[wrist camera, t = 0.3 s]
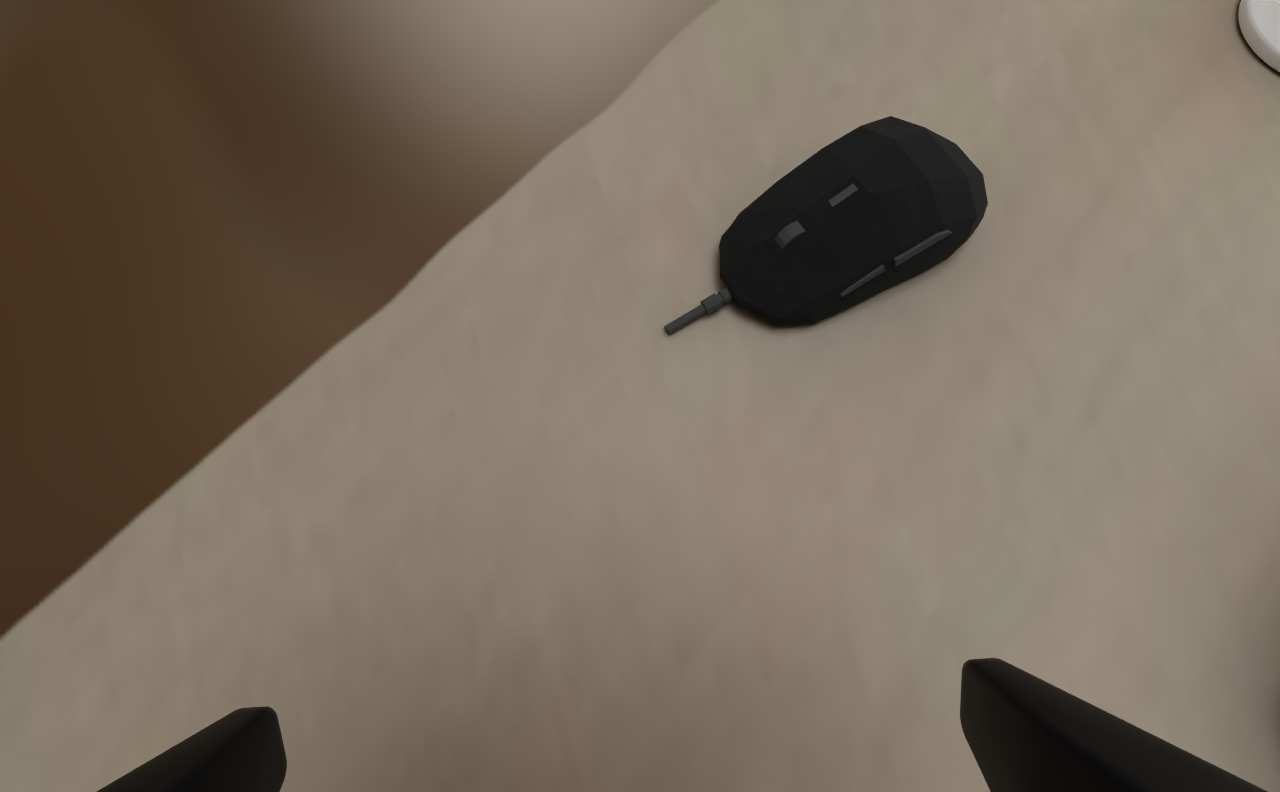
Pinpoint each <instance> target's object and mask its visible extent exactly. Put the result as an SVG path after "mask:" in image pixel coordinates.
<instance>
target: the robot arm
mask: <svg viewBox="0 0 1280 792" xmlns="http://www.w3.org/2000/svg"><path fill="white" fill-rule="evenodd" d="M960 719H961V725H962V729H963V732H964V735H965V737H966V740H967V742H968V744H969V746H970V748H971V750H972V753H973V755H974V757H975V759H976V761H977V763H978V765H979V768H980V770H981V772H982V774H983V776H984V778H985V780H986V783H987V785H988V787H989V789H990V791H991V792H1267V791H1265V790H1263V789H1261V788H1259V787H1257V786H1255V785H1253V784H1251V783H1249V782H1247V781H1245V780H1243V779H1241V778H1239V777H1237V776H1235V775H1233V774H1231V773H1229V772H1227V771H1225V770H1223V769H1221V768H1219V767H1217V766H1215V765H1213V764H1211V763H1209V762H1207V761H1204V760H1202V759H1200V758H1198V757H1196V756H1194V755H1192V754H1190V753H1188V752H1186V751H1184V750H1182V749H1180V748H1178V747H1176V746H1174V745H1172V744H1170V743H1168V742H1166V741H1164V740H1162V739H1160V738H1158V737H1156V736H1154V735H1152V734H1150V733H1148V732H1146V731H1144V730H1142V729H1140V728H1138V727H1136V726H1134V725H1132V724H1130V723H1128V722H1126V721H1124V720H1122V719H1120V718H1118V717H1116V716H1114V715H1112V714H1110V713H1108V712H1106V711H1104V710H1102V709H1100V708H1098V707H1096V706H1094V705H1092V704H1090V703H1087V702H1085V701H1083V700H1081V699H1079V698H1077V697H1075V696H1073V695H1071V694H1069V693H1067V692H1065V691H1063V690H1061V689H1059V688H1057V687H1055V686H1053V685H1051V684H1049V683H1047V682H1045V681H1043V680H1041V679H1039V678H1037V677H1035V676H1033V675H1031V674H1029V673H1027V672H1025V671H1023V670H1021V669H1019V668H1017V667H1015V666H1013V665H1011V664H1009V663H1007V662H1005V661H1003V660H1001V659H997V658H986V659H972V660H968V661H967V662H965V663H964V665H963V668H962V680H961V704H960ZM286 768H287V760H286V754H285V749H284V745H283V740H282V735H281V731H280V726H279V722H278V717H277V714H276V712H275V711H274V710H273V709H272V708H270V707H252V708H241V709H238V710H235V711H234V712H232V713H230V714H228V715H227V716H225V717H223V718H222V719H220V720H218V721H216V722H215V723H213V724H211V725H210V726H208V727H206V728H205V729H203V730H201V731H199V732H198V733H196V734H194V735H193V736H191V737H189V738H187V739H186V740H184V741H182V742H181V743H179V744H177V745H175V746H174V747H172V748H170V749H169V750H167V751H165V752H164V753H162V754H160V755H158V756H157V757H155V758H153V759H152V760H150V761H148V762H146V763H145V764H143V765H141V766H140V767H138V768H136V769H134V770H133V771H131V772H129V773H128V774H126V775H124V776H123V777H121V778H119V779H117V780H116V781H114V782H112V783H111V784H109V785H107V786H105V787H104V788H102V789H100V790H99V791H97V792H279V791H280V789H281V787H282V784H283V781H284V778H285V774H286Z"/></svg>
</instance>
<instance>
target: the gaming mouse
mask: <svg viewBox="0 0 1280 792" xmlns="http://www.w3.org/2000/svg"><path fill="white" fill-rule="evenodd" d="M987 204H988V202H987V196H986V190H985V184H984V178H983V174H982V173H981V172H980V170H979V169H978V168H977V167H976V166H975V165H974V164H973V163H972V161H971V160H970V159H969V158H968V157H967V156H966V155H965V153H964V152H963V151H962V150H961V149H960V148H959V147H958V146H957V144H955V143H953V142H951V141H949V140H947V139H946V138H944V137H942V136H940V135H938V134H936V133H934V132H932V131H930V130H928V129H927V128H925V127H922V126H919V125H916V124H913V123H910V122H907V121H904V120H901V119H898V118H895V117H892V116H890V117H887V118H884V119H880V120H877V121H874V122H871V123H868V124H865V125H862V126H860V127H858V128H856V129H855V130H853V131H851V132H850V133H848V134H846V135H845V136H843V137H841V138H839V139H838V140H836V141H834V142H833V143H831V144H829V145H828V146H826V147H824V148H822V149H821V150H820V151H818V152H817V153H816V154H814V155H813V156H812V157H810V158H809V159H807V160H806V161H805V162H803V163H802V164H801V165H799V166H798V167H796V168H795V169H794V170H792V171H791V172H790V173H788V174H787V175H785V176H784V177H783V178H781V179H780V180H779V181H777V182H776V183H775V184H774V185H773V186H771V187H770V188H769V189H768V190H767V191H765V192H764V193H763V194H762V195H761V196H760V197H758V198H757V199H756V200H755V201H754V202H752V203H751V204H750V205H749V206H748V207H746V208H745V209H744V210H743V211H742V212H741V213H739V215H738V216H737V217H736V219H735V220H734V222H733V223H732V225H731V226H730V227H729V229H728V230H727V231H726V232H725V233H724V234H723V235H722V237H721V241H720V245H719V249H720V278H721V279H722V281H723V282H724V284H725V285H726V287H727V288H728V289H726V288H724V289H722V290H721V291H719V292H718V294H717V295H716V294H713V295H711V296H709V297H707V298H706V299H704V300H702V301H701V305H700V306H698V307H696V308H695V309H693V310H691V311H689V312H688V313H686V314H684V315H683V316H681V317H679V318H678V319H676V320H674V321H673V322H671V323H669V324H667V325H666V326H664V327H665V329H666V331H667V332H668V334H670V333H672V332H674V331H675V330H677V329H679V328H680V327H682V326H684V325H686V324H687V323H689V322H691V321H692V320H694V319H696V318H697V317H699V316H701V315H702V314H704V313H707V314H710V313H712V312H713V311H715V310H717V309H718V308H720V307H722V305H721V304H722V303H724V304H726V303H727V302H729V301H731V300H732V297H734V298H735V300H736V301H737V302H738V304H740V305H741V306H743V307H744V308H746V309H748V310H749V311H751V312H753V313H754V314H756V315H757V316H759V317H761V318H762V319H764V320H766V321H767V322H769V323H771V324H772V325H774V326H781V325H800V324H814V323H816V322H818V321H820V320H823V319H825V318H827V317H829V316H832V315H834V314H836V313H838V312H841V311H843V310H845V309H847V308H850V307H852V306H854V305H856V304H858V303H860V302H862V301H864V300H865V299H867V298H869V297H871V296H873V295H875V294H877V293H879V292H881V291H883V290H885V289H887V288H889V287H891V286H893V285H896V284H898V283H900V282H902V281H904V280H906V279H909V278H911V277H913V276H915V275H917V274H920V273H921V272H923V271H925V270H927V269H929V268H931V267H932V266H934V265H936V264H938V263H940V262H942V261H944V260H945V259H947V258H948V257H949V256H950V255H952V254H953V253H954V252H955V251H956V250H957V249H958V248H959V247H960V246H961V245H962V244H963V243H964V242H965V241H966V240H967V239H968V238H969V237H970V236H971V235H972V234H973V232H974V231H975V229H976V228H977V226H978V225H979V223H980V221H981V220H982V218H983V216H984V213H985V210H986V207H987Z"/></svg>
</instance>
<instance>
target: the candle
mask: <svg viewBox="0 0 1280 792" xmlns="http://www.w3.org/2000/svg"><path fill="white" fill-rule="evenodd" d="M1238 18H1239V25H1240V29H1241V31H1242V34H1243V36H1244V38H1245V40H1246V41H1247V43H1248V44H1249V46H1250V47H1251V48H1252V50H1253V51H1254V52H1255V53H1256V54H1257V55H1258V56H1259V57H1260V58H1261V59H1262V60H1263V61H1264V62H1265V63H1267V64H1268V65H1269V66H1271V67H1272V68H1274V69H1275V70H1277V71H1278V72H1280V0H1241V2H1240V5H1239V12H1238Z"/></svg>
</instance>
